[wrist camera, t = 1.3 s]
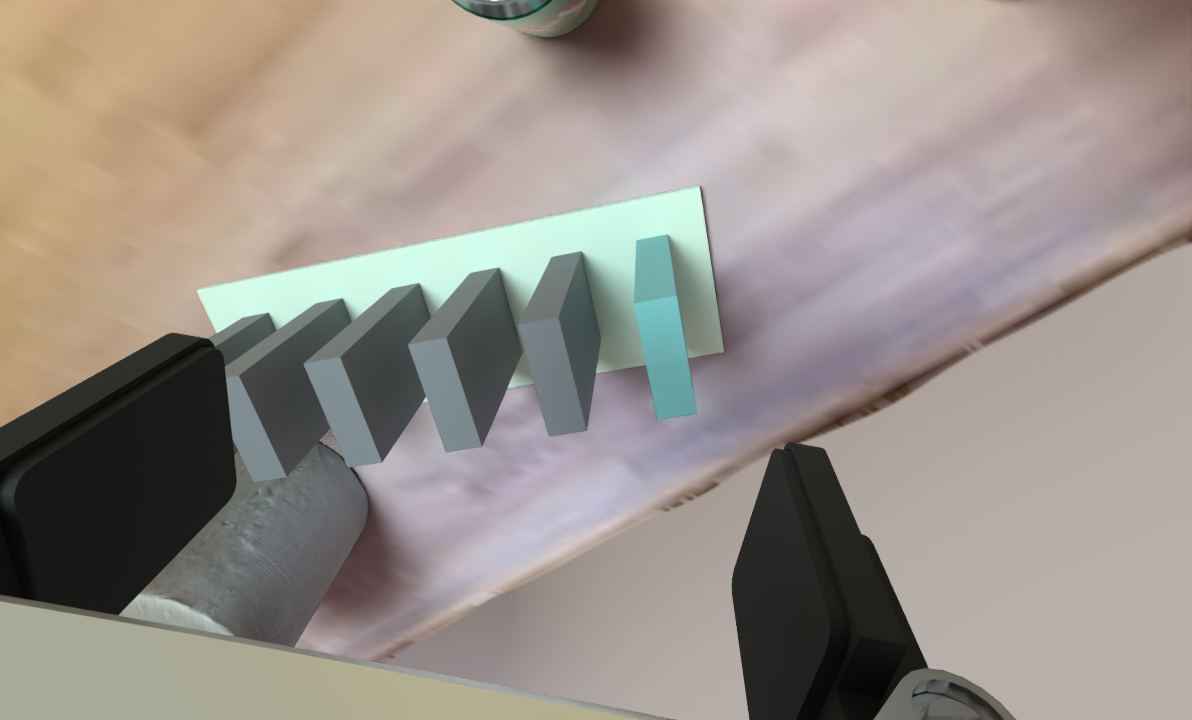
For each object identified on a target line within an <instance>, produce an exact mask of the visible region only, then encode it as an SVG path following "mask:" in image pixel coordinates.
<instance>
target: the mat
mask: <svg viewBox="0 0 1192 720" xmlns="http://www.w3.org/2000/svg"><path fill="white" fill-rule="evenodd" d="M666 234H667V235H668V241H669V247H670V253H671V259H672V264H673V270H674V276H675V282H676V288H677V293H678V299H679V305H680V311H681V317H682V322H683V329H684V335H685V341H686V348H687V354H688V358H692V357H698V356H704V355H710V354H716V353H722V352H724V347H723V341H722V334H721V327H720V320H719V314H718V307H717V300H716V293H715V287H714V280H713V273H712V267H711V260H710V253H709V246H708V240H707V233H706V226H705V219H704V213H703V206H702V199H701V192H700V187H699V185H697V186H692V187H687V188H682V189H677V190H672V191H668V192H663V193H658V194H653V195H648V196H643V197H638V198H634V199H629V200H624V201H619V202H614V203H609V204H604V205H599V206H595V207H590V208H585V209H580V210H575V211H570V212H565V213H561V214H556V215H551V216H546V217H541V218H536V219H531V220H527V221H522V222H517V223H512V224H507V225H502V226H497V227H493V228H488V229H483V230H478V231H473V232H468V233H463V234H459V235H454V236H449V237H444V238H439V239H434V240H429V241H425V242H420V243H415V244H410V245H405V246H400V247H395V248H391V249H386V250H381V251H376V252H371V253H366V254H361V255H357V256H352V257H347V258H342V259H337V260H332V261H327V262H323V263H318V264H313V265H308V266H303V267H298V268H293V269H289V270H284V271H279V272H274V273H269V274H264V275H259V276H255V277H250V278H245V279H240V280H235V281H230V282H225V283H221V284H216V285H211V286H206V287H202V288H200V289H198V290H197V292H198V295H199V297H200V299H201V301H202V303H203V305H204V307H205V309H206V311H207V314H208V316H209V318H210V320H211V322H212V324H213V326H214V328H215V330H216V332H217V333H218V332H220V331H222V330H223V329H225V328H227V327H228V326H230V325H231V324H233V323H235V322H236V321H238V320H240V319H241V318H243V317H248V316H253V315H258V314H263V313H268V312H269V314H270V317H271V319H272V321H273V324H274V326H275V328H276V330H278V329H280V328H281V327H283V326H284V325H286V324H287V323H288V322H290V321H291V320H293V319H294V318H295V317H297V316H298V315H300V314H301V313H303V312H304V311H305V310H307V309H308V308H310V307H311V306H313V305H314V304H315V303H319V302H324V301H329V300H334V299H340V298H343V300H344V303H345V306H346V308H347V311H348V313H349V316H350V319H351V321H352V322H353V321H354V320H355V319H356V318H357V317H359V316H360V315H361V314H362V313H363V312H364V311H366V310H367V309H368V308H369V307H370V306H371V305H373V304H374V303H375V302H376V301H377V300H378V299H380V298H381V297H382V296H383V295H384V294H385V293H387V292H388V291H389V290H390V289H391V288H396V287H401V286H406V285H411V284H416V283H419V284H420V287H421V290H422V293H423V296H424V299H425V302H426V305H427V308H428V311H429V314H430V317H432V316H433V315H434V314H435V313H436V312H437V310H438V309H439V308H440V307H441V306H442V305H443V304H444V302H445V301H446V300H447V299H448V298H449V297H450V295H451V294H452V293H453V292H454V291H455V290H456V289H457V287H458V286H459V285H460V284H461V283H462V282H463V280H464V279H465V278H466V277H467V276H468V275H469V274H470V273H472V272H477V271H482V270H487V269H492V268H498V267H499V270H500V274H501V277H502V281H503V284H504V288H505V291H506V295H507V299H508V302H509V306H510V309H511V313H512V316H513V320H514V323H515V327H516V331H517V334H518V338H519V341H520V345H521V348H522V352H523V353H522V355H521V358H520V360H519V362H518V365H517V367H516V369H515V372H514V374H513V376H512V379H511V381H510V383H509V386H508V388H513V387H518V386H524V385H530V384H534V381H533V378H532V374H531V370H530V367H529V363H528V360H527V356H526V352H525V349H524V345H523V342H522V338H521V335H520V331H519V327H518V323H519V321H520V319H521V317H522V315H523V313H524V311H525V309H526V307H527V305H528V303H529V301H530V299H531V297H532V295H533V293H534V291H535V289H536V287H537V285H538V283H539V281H540V279H541V277H542V275H543V273H544V271H545V269H546V267H547V265H548V263H549V261H550V259H551V257H554V256H559V255H564V254H569V253H574V252H579V251H581V252H582V256H583V260H584V265H585V269H586V274H587V278H588V282H589V287H590V291H591V296H592V300H593V304H594V309H595V313H596V318H597V322H598V326H599V331H600V335H601V344H600V350H599V357H598V363H597V369H596V373H602V372H608V371H614V370H620V369H626V368H632V367H638V366H644V365H646V362H645V357H644V352H643V347H642V342H641V337H640V332H639V327H638V322H637V317H636V312H635V307H634V285H635V261H636V240H640V239H645V238H650V237H656V236H661V235H666ZM423 402H428V400H427V398H425V399H424V401H423ZM423 402H422V403H423Z"/></svg>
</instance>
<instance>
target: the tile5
mask: <svg viewBox="0 0 1192 720" xmlns="http://www.w3.org/2000/svg"><path fill="white" fill-rule="evenodd" d="M350 323H352V321H351V319H350V316H349V313H348V311H347V308H346V306H345V303H344V300H343V298H340V299H334V300H329V301H324V302H319V303H315V304H314V305H313V306H311V307H310V308H308V309H307V310H305V311H304V312H303V313H301V314H300V315H298V316H297V317H295V318H294V319H293V320H291V321H290V322H288V323H287V324H286V325H284V326H283V327H281V328H280V329H278V330H277V331H276V332H274V333H273V334H271V335H270V336H268V337H267V338H266V339H264V340H263V341H261V342H260V343H258V344H257V345H256V346H254V347H253V348H251V349H250V350H249V351H247V352H246V353H244V354H243V355H241V356H240V357H239V358H237V359H236V360H234V361H233V362H231V363H230V364H229V365H227V366H226V367H225V372H226V382H227V391H228V401H229V410H230V420H231V429H232V438H233V441H234V443H235V445H236V447H237V449H238V451H239V453H240V455H241V457H242V459H243V461H244V463H245V465H246V467H247V469H248V471H249V473H250V475H251V477H252V479H253V481H254V482H258V481H265V480H271V479H278V478H284V477H287V476H288V475H289V474H290V473H291V472H292V471H293V470H294V468H295V467H296V466H297V465H298V464H299V463H300V462H301V461H302V459H303V458H304V457H305V456H306V455H307V454H308V453H309V451H310V450H311V449H312V448H313V447H314V446H315V445H316V444H317V442H318V441H319V440H320V439H321V438H322V437H323V436H324V434H325V433H326V432H327V431H328V430H329V429H330V428H331V427H330V425H329V423H328V420H327V418H326V416H325V413H324V411H323V409H322V406H321V404H320V402H319V399H318V397H317V395H316V392H315V390H314V388H313V385H312V383H311V381H310V378H309V376H308V374H307V371H306V369H305V367H304V363H305V362H306V361H307V360H308V359H309V358H311V357H312V356H313V355H314V354H315V353H316V352H318V351H319V350H320V349H321V348H322V347H323V346H325V345H326V344H327V343H328V342H329V341H330V340H332V339H333V338H334V337H335V336H336V335H338V334H339V333H340V332H341V331H342V330H343V329H345V328H346V327H347V326H348V325H349V324H350Z"/></svg>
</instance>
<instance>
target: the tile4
mask: <svg viewBox="0 0 1192 720" xmlns="http://www.w3.org/2000/svg"><path fill="white" fill-rule="evenodd" d="M430 319H431V317H430V314H429V311H428V308H427V305H426V302H425V299H424V296H423V293H422V290H421V287H420V284H419V283H416V284H411V285H406V286H401V287H396V288H391V289H390V290H389V291H388V292H387V293H385V294H384V295H383V296H382V297H381V298H380V299H378V300H377V301H376V302H375V303H374V304H373V305H371V306H370V307H369V308H368V309H367V310H366V311H364V312H363V313H362V314H361V315H360V316H359V317H357V318H356V319H355V320H354V321H353V322H352V323H350V324H349V325H348V326H347V327H346V328H345V329H343V330H342V331H341V332H340V333H339V334H338V335H336V336H335V337H334V338H333V339H332V340H330V341H329V342H328V343H327V344H326V345H325V346H323V347H322V348H321V349H320V350H319V351H318V352H316V353H315V354H314V355H313V356H312V357H311V358H309V359H308V360H307V361H306V362H305V363H304V367H305V369H306V371H307V374H308V376H309V378H310V381H311V383H312V385H313V388H314V390H315V392H316V395H317V397H318V399H319V402H320V404H321V406H322V409H323V411H324V413H325V416H326V418H327V420H328V423H329V425H330V427H331V430H332V432H333V434H334V437H335V439H336V441H337V444H338V446H339V448H340V451H341V453H342V455H343V458H344V460H345V462H346V465H347V467H348V468H349V467H355V466H362V465H368V464H375V463H381V462H383V460H384V459H385V457H386V456H387V454H388V453H389V451H390V450H391V448H392V447H393V445H394V444H395V442H396V441H397V439H398V438H399V436H400V435H401V434H402V432H403V431H404V429H405V428H406V426H407V425H408V423H409V422H410V420H411V419H412V417H413V416H414V414H415V413H416V411H417V410H418V408H419V407H420V405H421V404H422V402H423V401H424V399H425V398H426V395H425V392H424V389H423V386H422V383H421V381H420V378H419V375H418V372H417V369H416V367H415V364H414V361H413V358H412V355H411V352H410V350H409V347H408V344H409V343H410V342H411V340H412V339H413V338H414V337H415V336H416V335H417V334H418V332H419V331H420V330H421V329H422V328H423V327H424V325H425V324H426V323H427V322H428V321H429V320H430Z"/></svg>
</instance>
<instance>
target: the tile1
mask: <svg viewBox="0 0 1192 720" xmlns="http://www.w3.org/2000/svg"><path fill="white" fill-rule="evenodd" d="M634 307H635V312H636V317H637V322H638V327H639V332H640V337H641V342H642V347H643V352H644V357H645V362H646V367H647V372H648V377H649V382H650V387H651V392H652V397H653V402H654V407H655V412H656V417H657V420H659V419H666V418H672V417H679V416H685V415H692V414H697V411H696V405H695V398H694V392H693V386H692V379H691V373H690V367H689V360H688V354H687V348H686V341H685V335H684V329H683V322H682V317H681V311H680V305H679V299H678V293H677V288H676V282H675V276H674V270H673V264H672V259H671V253H670V247H669V241H668V235H667V234H666V235H661V236H656V237H650V238H645V239H640V240H636V261H635V285H634Z"/></svg>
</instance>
